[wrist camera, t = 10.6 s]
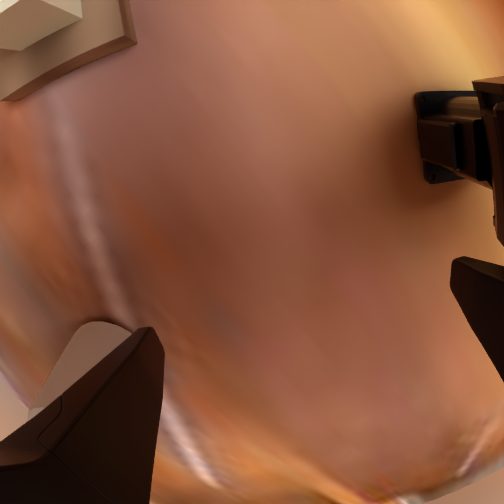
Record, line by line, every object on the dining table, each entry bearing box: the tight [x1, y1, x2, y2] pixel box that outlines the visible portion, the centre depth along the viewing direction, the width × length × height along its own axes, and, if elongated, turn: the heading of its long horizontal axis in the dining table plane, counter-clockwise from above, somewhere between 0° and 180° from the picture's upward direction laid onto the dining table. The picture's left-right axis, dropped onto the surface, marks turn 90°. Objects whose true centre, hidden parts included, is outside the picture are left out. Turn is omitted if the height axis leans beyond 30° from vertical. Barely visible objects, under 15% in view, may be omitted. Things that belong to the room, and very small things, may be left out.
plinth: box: [0, 0, 137, 101], centre depth 14 cm, size 10×10×3 cm
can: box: [28, 321, 132, 421], centre depth 20 cm, size 8×8×12 cm
